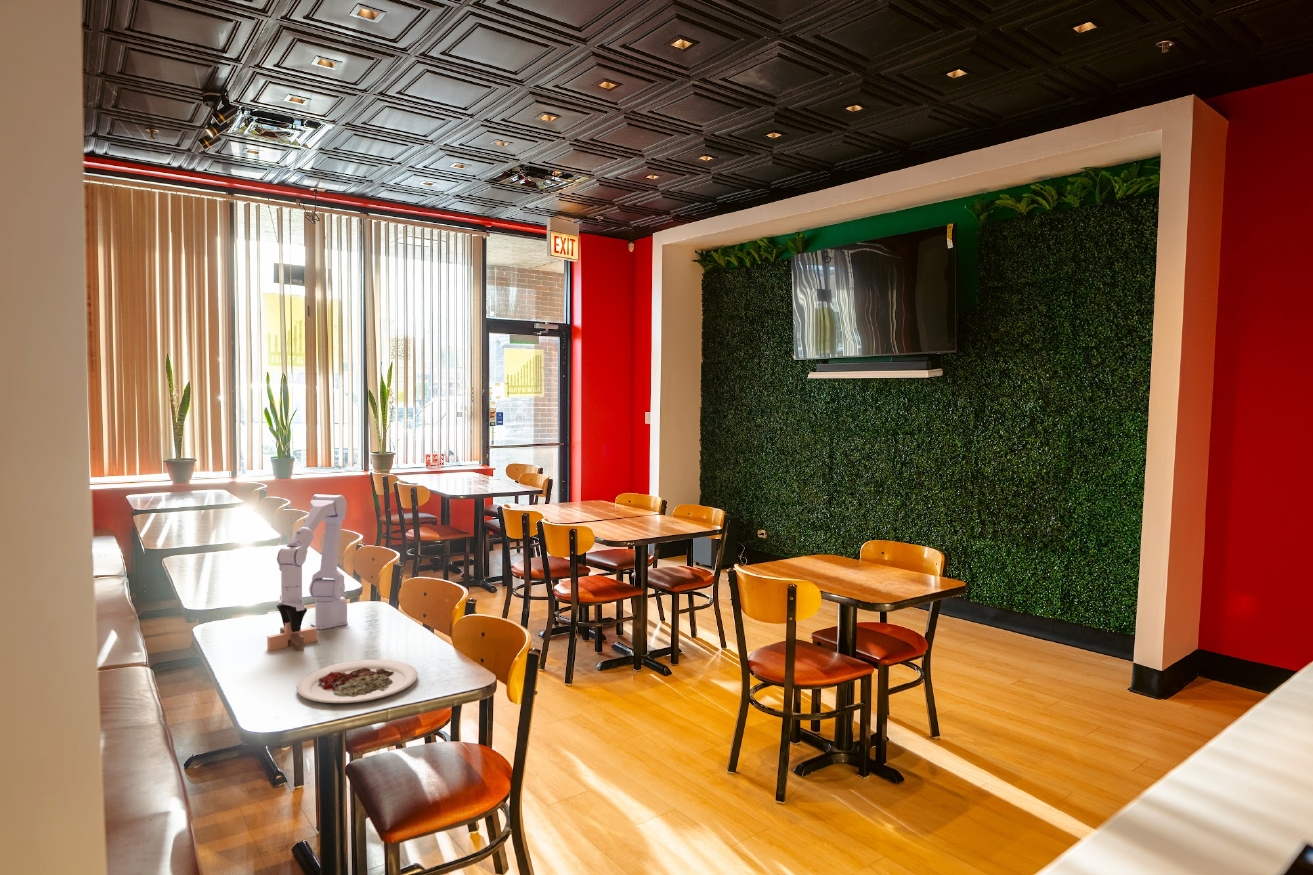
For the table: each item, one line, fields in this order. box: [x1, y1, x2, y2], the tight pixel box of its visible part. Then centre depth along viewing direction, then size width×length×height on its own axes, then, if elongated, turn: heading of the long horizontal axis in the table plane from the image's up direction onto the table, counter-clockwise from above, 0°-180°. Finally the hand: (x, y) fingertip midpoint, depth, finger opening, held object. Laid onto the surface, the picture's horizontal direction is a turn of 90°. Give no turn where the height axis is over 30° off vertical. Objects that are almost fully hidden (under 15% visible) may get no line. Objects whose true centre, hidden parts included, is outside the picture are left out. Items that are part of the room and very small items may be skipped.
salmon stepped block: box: [266, 622, 318, 652], centre depth 229 cm, size 14×2×7 cm, turn 136°
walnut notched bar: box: [279, 626, 305, 652], centre depth 229 cm, size 2×14×4 cm, turn 46°
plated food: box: [296, 659, 418, 704], centre depth 198 cm, size 30×30×3 cm
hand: (291, 628), depth 229 cm, fingers open, 6 cm apart
